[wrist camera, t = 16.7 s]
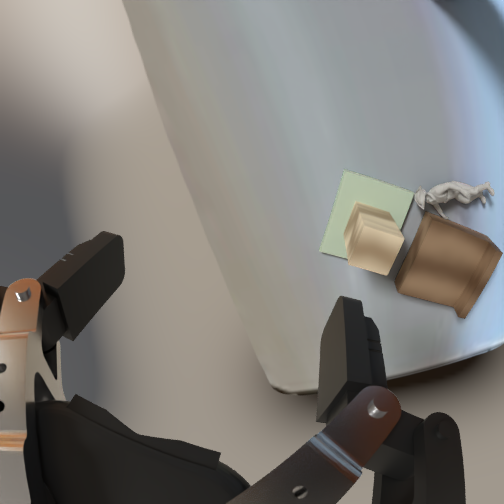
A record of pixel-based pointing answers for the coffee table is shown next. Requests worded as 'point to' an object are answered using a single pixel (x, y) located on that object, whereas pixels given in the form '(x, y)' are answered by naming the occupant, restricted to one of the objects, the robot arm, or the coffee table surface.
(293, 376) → the coffee table surface
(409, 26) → the coffee table surface
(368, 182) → the pad
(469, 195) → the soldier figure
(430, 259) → the walnut ledge
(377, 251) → the birch block
